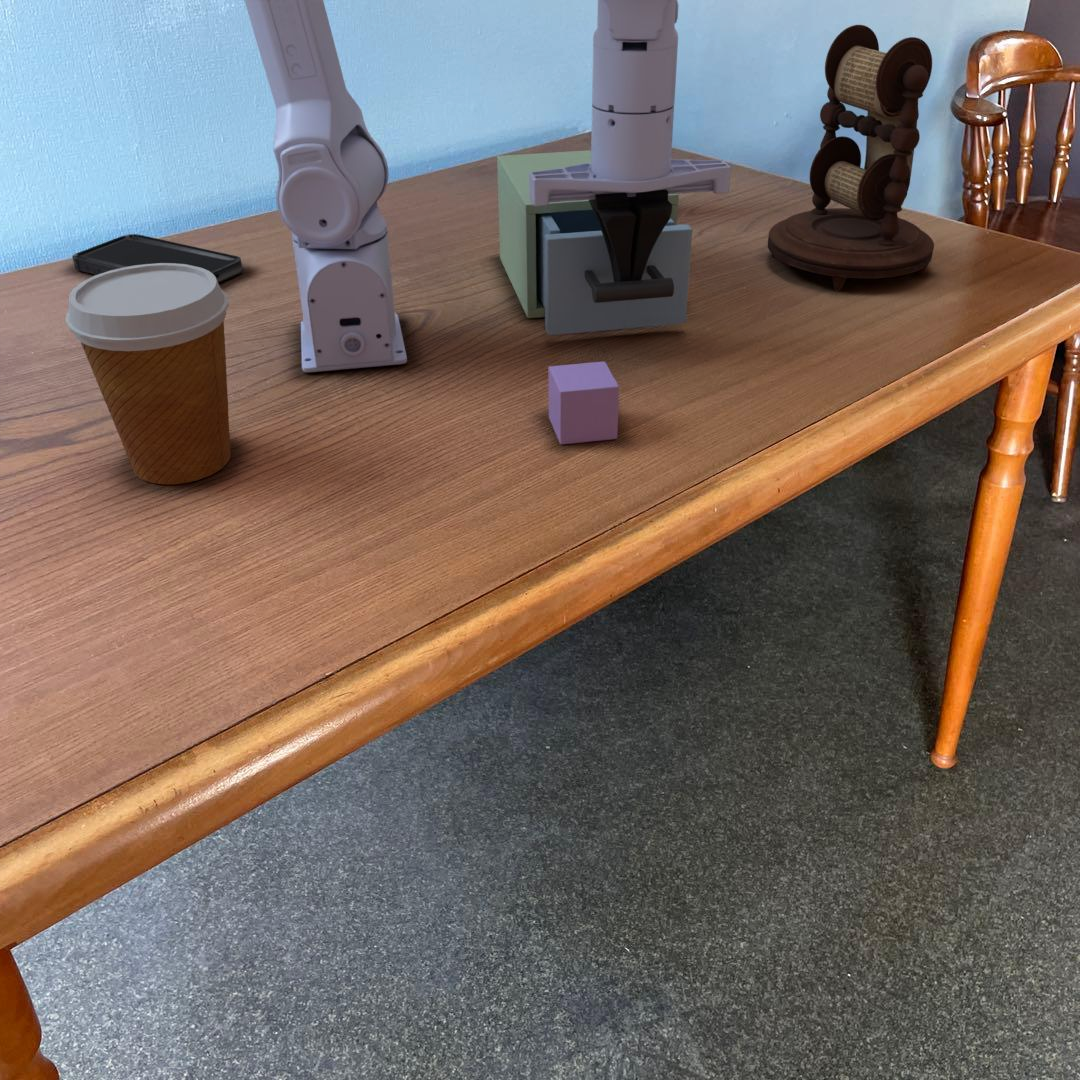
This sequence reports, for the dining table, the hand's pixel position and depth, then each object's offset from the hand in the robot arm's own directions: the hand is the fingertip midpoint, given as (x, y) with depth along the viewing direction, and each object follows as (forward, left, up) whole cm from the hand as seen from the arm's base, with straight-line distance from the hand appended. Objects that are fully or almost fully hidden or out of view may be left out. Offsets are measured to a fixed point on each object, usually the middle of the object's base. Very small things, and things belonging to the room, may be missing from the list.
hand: (626, 291), depth 83 cm
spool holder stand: (+14, -25, -5) cm, 29 cm away
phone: (+26, +38, -5) cm, 46 cm away
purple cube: (-12, +6, -5) cm, 14 cm away
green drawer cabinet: (+15, 0, -5) cm, 16 cm away
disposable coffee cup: (-11, +33, -5) cm, 35 cm away
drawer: (+6, 0, -4) cm, 8 cm away
